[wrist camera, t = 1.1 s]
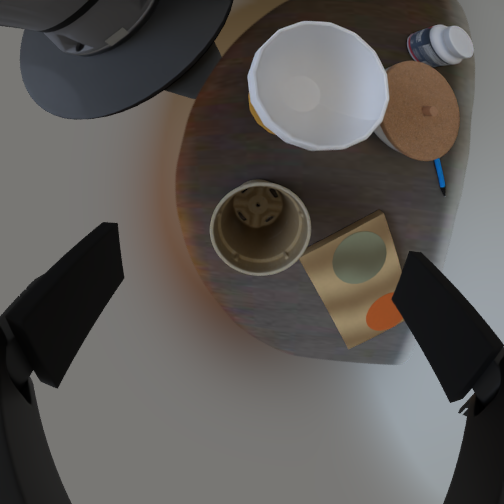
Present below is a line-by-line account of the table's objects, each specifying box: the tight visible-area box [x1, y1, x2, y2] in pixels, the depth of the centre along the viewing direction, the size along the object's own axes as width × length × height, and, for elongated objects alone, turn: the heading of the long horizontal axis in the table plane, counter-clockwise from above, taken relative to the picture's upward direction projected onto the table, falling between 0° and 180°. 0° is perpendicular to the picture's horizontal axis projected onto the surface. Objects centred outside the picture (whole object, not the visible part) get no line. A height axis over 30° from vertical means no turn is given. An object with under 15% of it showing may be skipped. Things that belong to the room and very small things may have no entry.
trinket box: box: [374, 61, 460, 161], centre depth 23 cm, size 11×11×9 cm
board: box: [299, 210, 405, 349], centre depth 38 cm, size 21×13×2 cm, turn 31°
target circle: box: [366, 292, 403, 331], centre depth 39 cm, size 8×8×1 cm
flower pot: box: [210, 179, 311, 276], centre depth 29 cm, size 9×9×9 cm
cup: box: [247, 21, 389, 151], centre depth 20 cm, size 9×9×16 cm
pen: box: [434, 158, 445, 197], centre depth 27 cm, size 1×19×1 cm
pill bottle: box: [407, 25, 474, 67], centre depth 18 cm, size 5×5×9 cm
